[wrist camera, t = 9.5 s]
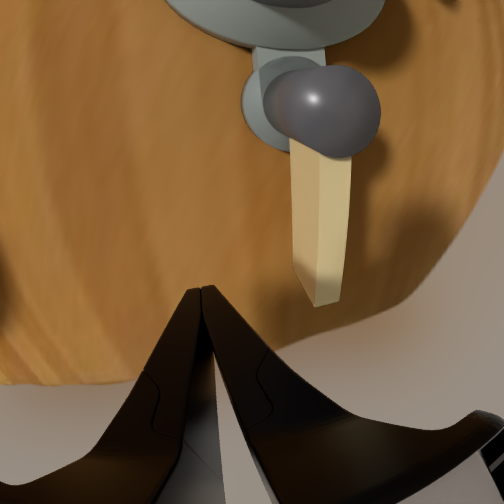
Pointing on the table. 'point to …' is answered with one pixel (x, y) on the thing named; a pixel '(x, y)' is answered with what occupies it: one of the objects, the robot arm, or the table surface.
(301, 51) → the levelling base
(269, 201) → the table surface
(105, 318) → the table surface
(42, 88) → the table surface
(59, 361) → the table surface
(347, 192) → the mallet
